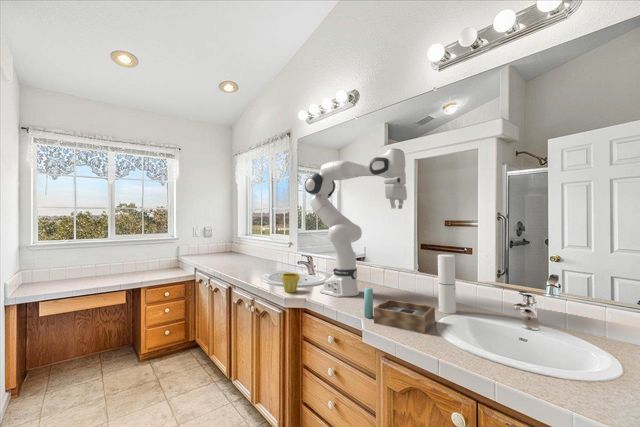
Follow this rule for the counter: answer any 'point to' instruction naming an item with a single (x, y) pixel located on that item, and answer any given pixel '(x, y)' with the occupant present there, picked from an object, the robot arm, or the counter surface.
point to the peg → (368, 302)
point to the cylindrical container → (446, 284)
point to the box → (405, 315)
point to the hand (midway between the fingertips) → (396, 208)
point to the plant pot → (290, 282)
